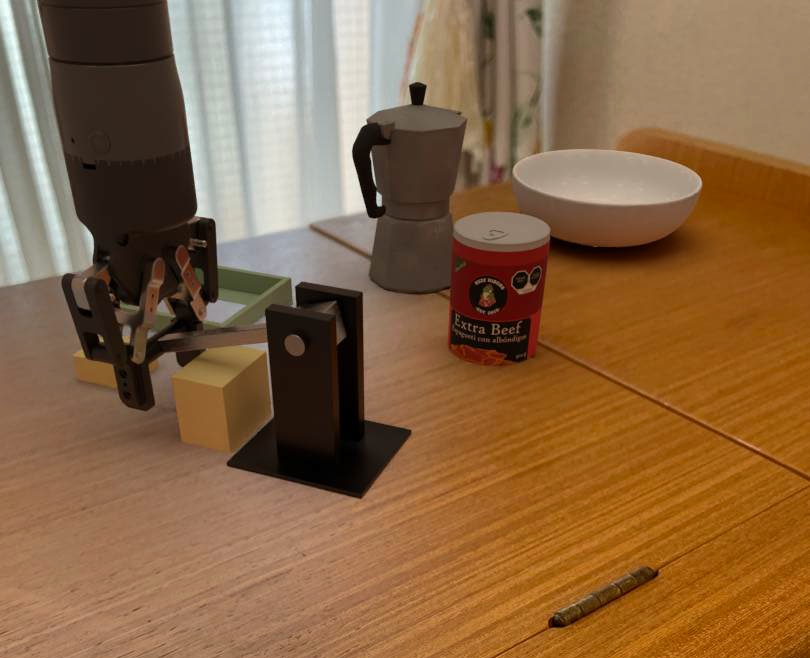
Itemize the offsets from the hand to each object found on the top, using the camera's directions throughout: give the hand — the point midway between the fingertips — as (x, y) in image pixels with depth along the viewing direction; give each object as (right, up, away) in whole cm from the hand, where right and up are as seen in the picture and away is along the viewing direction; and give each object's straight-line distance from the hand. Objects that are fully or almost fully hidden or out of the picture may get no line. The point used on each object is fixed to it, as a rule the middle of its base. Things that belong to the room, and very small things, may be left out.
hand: (166, 385), depth 63 cm
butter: (+4, -4, +1) cm, 6 cm away
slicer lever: (+6, +1, -4) cm, 8 cm away
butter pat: (-6, +2, +7) cm, 9 cm away
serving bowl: (+40, +24, +38) cm, 60 cm away
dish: (-2, +10, +18) cm, 20 cm away
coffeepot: (+17, +15, +26) cm, 35 cm away
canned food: (+25, +5, +12) cm, 28 cm away
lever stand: (+11, -5, -1) cm, 13 cm away
